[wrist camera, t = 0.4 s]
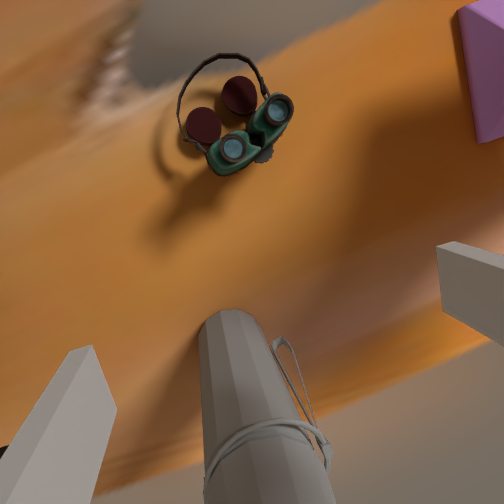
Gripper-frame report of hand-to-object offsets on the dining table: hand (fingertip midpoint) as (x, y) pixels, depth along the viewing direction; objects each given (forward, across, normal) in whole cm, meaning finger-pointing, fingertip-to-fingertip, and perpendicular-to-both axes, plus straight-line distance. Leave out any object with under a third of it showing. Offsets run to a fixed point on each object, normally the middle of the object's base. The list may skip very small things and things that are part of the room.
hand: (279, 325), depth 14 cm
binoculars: (+27, +3, +9) cm, 28 cm away
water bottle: (+26, -1, -13) cm, 29 cm away
